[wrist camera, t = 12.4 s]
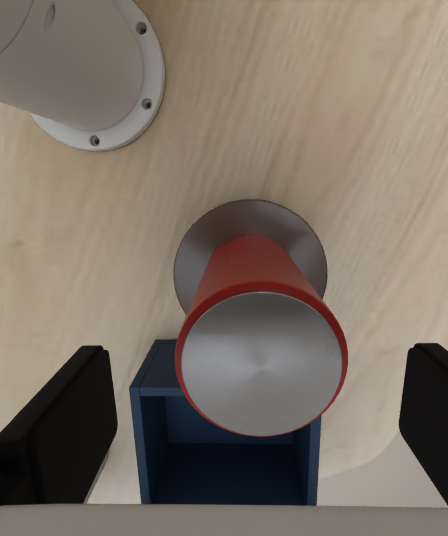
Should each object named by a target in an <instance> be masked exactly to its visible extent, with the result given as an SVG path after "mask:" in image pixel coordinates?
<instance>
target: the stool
mask: <svg viewBox="0 0 448 536" xmlns="http://www.w3.org/2000/svg"><path fill="white" fill-rule="evenodd" d="M243 234H257V235H262V236H265V237H268V238H270V239H272V240H274V241H276V242H277V243H279V244H280V245H281V246H282V247H283V248H284V249H285V250H286V251H287V253H288V254H289V255H290V257H291V258H292V260H293V261H294V262H295V264H296V265H297V266H298V268H299V269H300V270H301V272H302V273H303V274H304V276H305V277H306V278H307V280H308V281H309V283H310V284H311V285H312V287H313V288H314V289H315V291H316V292H317V293H318V295H319V296H320V297H321V299H323V297H324V293H325V289H326V284H327V263H326V257H325V253H324V250H323V247H322V245H321V243H320V241H319V239H318V237H317V235H316V234H315V232H314V231H313V229H312V228H311V227H310V226H309V225H308V224H307V222H305V221H304V220H303V219H302V218H301V217H300V216H299V215H297V214H296V213H294V212H293V211H291V210H289V209H287V208H285V207H283V206H281V205H279V204H276V203H273V202H270V201H265V200H259V199H242V200H236V201H231V202H228V203H225V204H222V205H220V206H218V207H216V208H214V209H212V210H210V211H209V212H207V213H206V214H205V215H203V216H202V217H201V218H200V219H199V220H198V221H196V222H195V223H194V224H193V225H192V227H191V228H190V229H189V230H188V232H187V233H186V235H185V236H184V238H183V240H182V241H181V244H180V246H179V248H178V251H177V254H176V258H175V263H174V285H175V290H176V294H177V298H178V300H179V302H180V305H181V307H182V309H183V310H184V312H185V314H186V315H187V313H188V311H189V308H190V306H191V303H192V301H193V298H194V296H195V293H196V291H197V288H198V286H199V283H200V281H201V279H202V276H203V274H204V271H205V269H206V266H207V264H208V261H209V259H210V257H211V256H212V254H213V253H214V251H215V250H216V249H217V248H218V247H219V246H220V245H221V244H222V243H224V242H225V241H227V240H229V239H231V238H233V237H236V236H239V235H243Z"/></svg>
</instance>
